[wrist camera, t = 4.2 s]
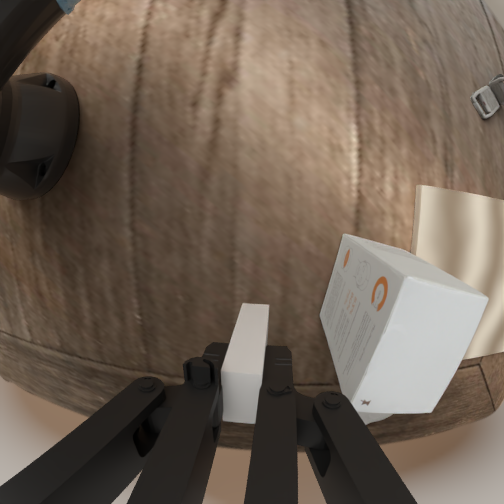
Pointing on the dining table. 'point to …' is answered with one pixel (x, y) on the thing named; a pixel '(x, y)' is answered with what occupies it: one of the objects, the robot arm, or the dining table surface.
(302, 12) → the dining table surface
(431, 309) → the small box
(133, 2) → the dining table surface
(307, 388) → the dining table surface
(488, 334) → the birch board
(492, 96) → the strap clip
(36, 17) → the robot arm
